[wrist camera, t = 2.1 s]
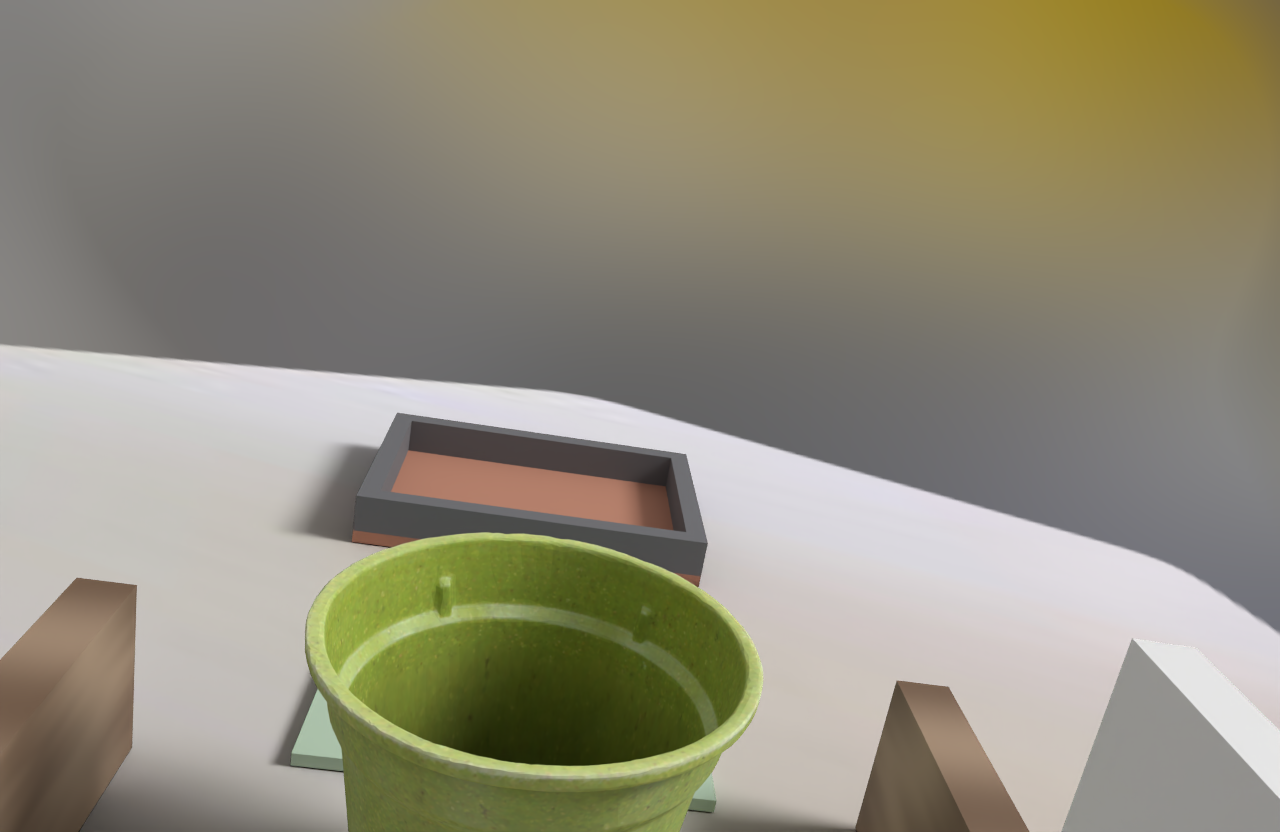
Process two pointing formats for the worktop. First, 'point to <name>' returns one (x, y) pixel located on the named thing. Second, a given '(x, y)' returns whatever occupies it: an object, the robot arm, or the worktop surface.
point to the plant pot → (525, 686)
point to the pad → (325, 753)
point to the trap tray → (530, 491)
